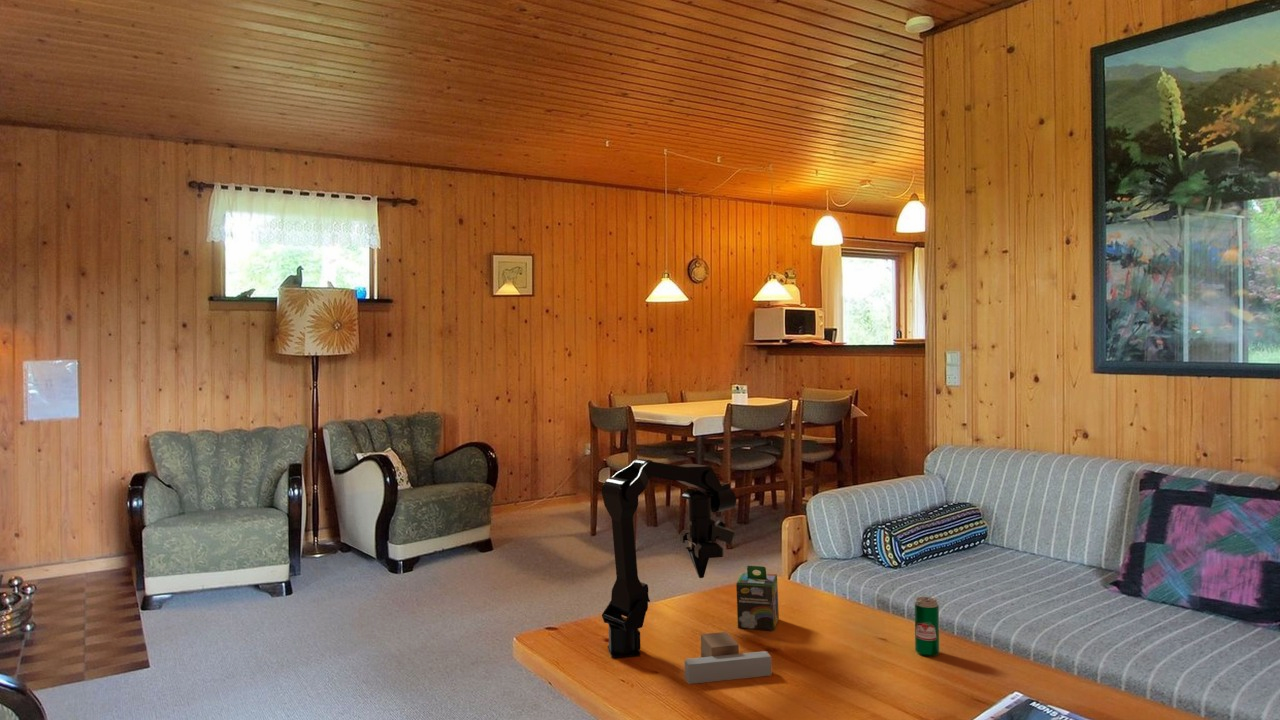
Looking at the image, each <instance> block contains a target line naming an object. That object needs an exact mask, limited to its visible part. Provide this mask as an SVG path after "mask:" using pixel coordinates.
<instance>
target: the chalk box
mask: <svg viewBox="0 0 1280 720" xmlns="http://www.w3.org/2000/svg"><path fill="white" fill-rule="evenodd" d="M746 571H747V572H743V573H742V574H741V575H740V576H739V578H738V580H737V582H736V585H735V587H736V614H737V615H736V616H737V628H738V629H739V628H740V629H750V630H751V629H752V630H760V631H767V632H768V631H769V632H774V631H775V628H776V626H777V624H778V621H779V618H780V615H779V592H778V591H779V587H778V586H779V585H778V584H779V583H778V574H777V573H775V574H774V573H767V568H766V566H761V565H747V567H746ZM754 571H758V572H756V573H755V572H754ZM759 572H760V573H759Z"/></svg>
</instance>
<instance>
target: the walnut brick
mask: <svg viewBox="0 0 1280 720" xmlns="http://www.w3.org/2000/svg"><path fill="white" fill-rule="evenodd" d="M739 648H740V645H739V643H738V642H737V641H736V640H735V639H734V638H733V637H732V636H731V635H730V634H729V633H728V632H727V631H721V632H720V631H719V632H712V633H711V632H710V633H700V658H701V657H711V656H721V655H731V654H740V649H739Z"/></svg>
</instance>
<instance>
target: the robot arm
mask: <svg viewBox="0 0 1280 720" xmlns="http://www.w3.org/2000/svg"><path fill="white" fill-rule="evenodd" d="M651 478H657V479H659V478H660V479H664V480H672V481H676V482H678V483H680V484H682V485H685V486H687V487H690V488H687V489H686V491H685V492H684V493H683V494H682V495H681V498H682V499H685V500H688V501H687V503H688V504H687V505H688V517H686V523H687V524H688V529H683V530H682V531H680V533H679V542H680V543H682V544H685V543H686V541H687V542H688V546H685V550H686V551H687V554H688V556H689V559H690V560H691V563H692V564H693V567H694V569H695V572H696V574H697V577H698V578H699V579H703V578H705V575H706V572H707V571H706V570H707V566H708V563H709V559H713V558H714V559H716V558H723V557H724V548H723V547H722V546H721V544H719V543H717V540H718V541H722V542H724V543H727V544H729V545H732V543H733V541H734V537H735V534H736V531H734V530H733V529H731V528H729V527H727V526H726V522H724V521H723V520H719V519H718V520H717V521H715V520H714V519H713V518H712V517H713V516H712V515H713V514H712V513H718V512H724V511H728V510H732V509H734V508H735V507H736V504H737V496H736V493H735V492H734V490H733V489H732V488H731V484H730V483H727V482H722V483H721V482H720V481H719V479H718V477H717V475H716V473H715V471H714V468H713V467H712V466H710V465H704V464H696V463H684V464H680V465H679V464H678V465H675V464H670V463H663V462H656V461H653V460H650V459H645V458H636V459H635V460H633V461H632V462H631V463H630V464H629V465H628V466H626V467H624V468H622V469H621V470H618V471H617V472H615V474H614V475H612V476H611V477H610V478H609V477H608V478H607V479H606V480H605V481H604V484H602V486H601V497H602V501H603V504H604V507H605V509H606V511H607V513H608V515H609V516H610V518H611V526H612V528H611V529H612V539H613V549H614V550H613V551H614V561H615V562H614V564H615V572H616V573H615V575H616V579H615V582H614V584H613V585H612V589H611V598H610V599H611V600H609V603H608V605H607V606H606V607H605V609H604V610H603V612H602V614H601V617H602V620H603V621H602V622H603V623H604V624H608V645H607V650H608V652H609V655H610V658H612V659H615V658H617V659H618V658H626V657H634V656H635V657H636V656H637V657H639V656H640V655H641V652H640V650H641V632H640V630H639V629H641V628H643V626H644V622H645V618H646V613H647V612H648V608H649V603H650V602H651V600H650V598H649V585H648V584H647V583H644V582H642V581H640V579H639V575H638V572H639V571H638V562H637V561H638V560H637V551H636V550H637V549H636V540H635V539H636V536H635V525H634V516H635V513H636V511H637V508H638V506H639V498H640V497H639V496H640V495H641V494H642V493H643V492H644V491H645V490H646V489H647V487H648V484H649V481H650V479H651ZM691 487H692V488H691ZM693 488H696V489H697V490H695V489H693Z"/></svg>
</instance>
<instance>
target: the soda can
mask: <svg viewBox="0 0 1280 720" xmlns="http://www.w3.org/2000/svg"><path fill="white" fill-rule="evenodd" d="M939 605H940V604H938V601H937V599H936V598H933V597H929V596H920V597H916V601H915V602H914V649H915V651H916V653H917V654H918V653H919V654H918V655H920V654H921V655H920V656H923V655H924V656H923V657H928V656H932V657H936V656H938V654H939V653H940V612H939V611H940V606H939Z"/></svg>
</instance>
